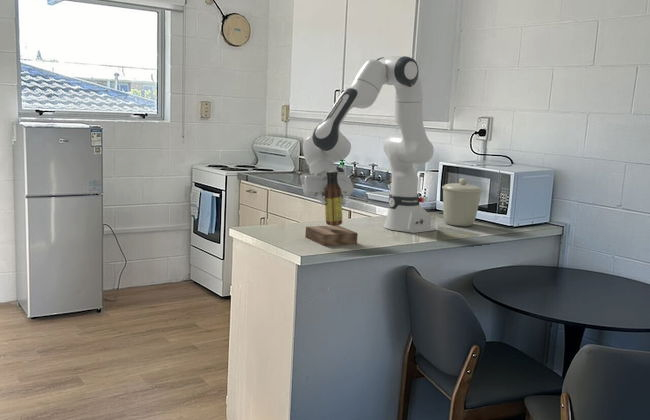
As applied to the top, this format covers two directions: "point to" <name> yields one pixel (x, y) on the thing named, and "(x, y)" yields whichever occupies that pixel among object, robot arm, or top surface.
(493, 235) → the top surface
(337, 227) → the block
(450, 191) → the canister
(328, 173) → the sauce bottle
